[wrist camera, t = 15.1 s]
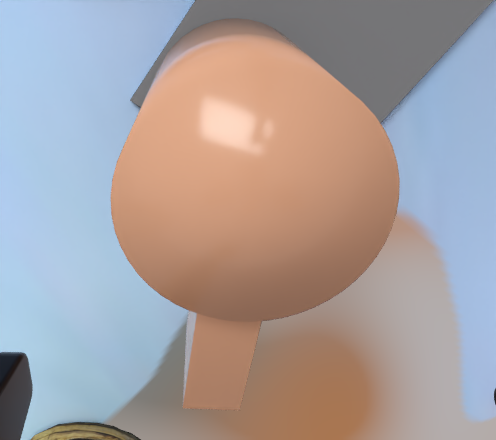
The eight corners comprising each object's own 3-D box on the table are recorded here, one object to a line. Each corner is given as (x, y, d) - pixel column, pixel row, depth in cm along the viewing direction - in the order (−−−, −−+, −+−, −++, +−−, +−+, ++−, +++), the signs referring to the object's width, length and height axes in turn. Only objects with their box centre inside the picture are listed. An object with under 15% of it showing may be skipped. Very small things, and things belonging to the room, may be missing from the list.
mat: (354, -243, 13) (357, -247, 13) (518, -33, 17) (524, -33, 17) (131, 98, 18) (130, 100, 18) (295, 211, 21) (296, 214, 21)
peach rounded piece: (158, 3, 16) (114, 37, 8) (335, 35, 17) (444, 92, 9) (140, 265, 22) (105, 432, 14) (274, 277, 23) (311, 438, 15)
